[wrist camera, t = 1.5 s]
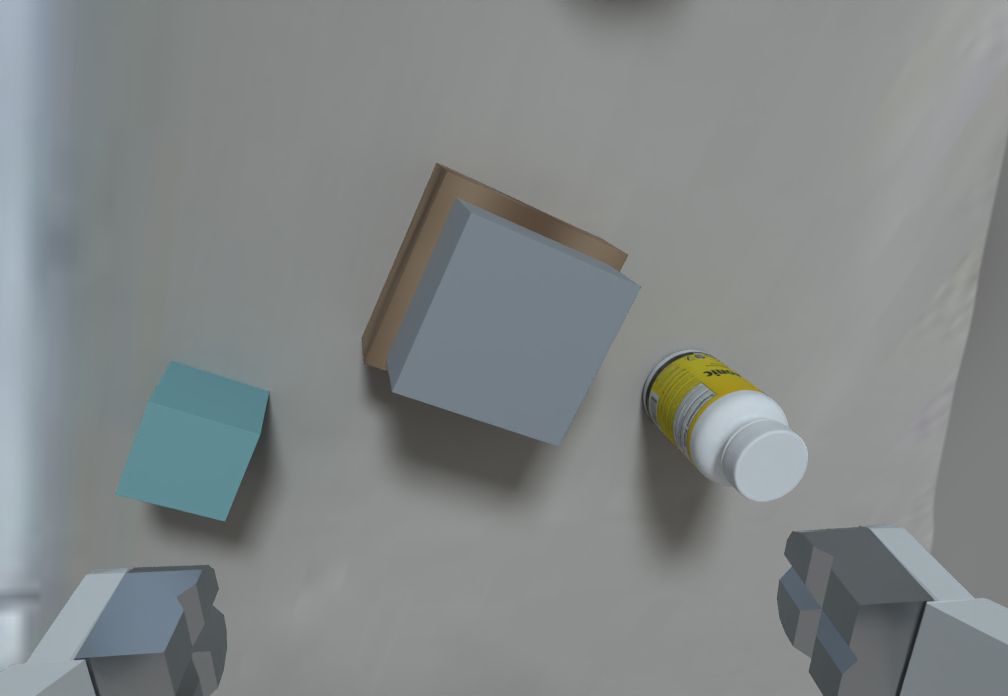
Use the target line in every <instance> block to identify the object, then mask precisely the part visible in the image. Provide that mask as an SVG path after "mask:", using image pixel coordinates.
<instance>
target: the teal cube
mask: <svg viewBox="0 0 1008 696" xmlns="http://www.w3.org/2000/svg"><path fill="white" fill-rule="evenodd" d="M268 395H269V391H266V390H263V389H260V388H256V387H253V386H250V385H247V384H244V383H241V382H237V381H234V380H231V379H228V378H225V377H222V376H219V375H215V374H212V373H209V372H206V371H203V370H200V369H196V368H193V367H190V366H187V365H184V364H181V363H178V362H174V361H171V363H170V364H169V366H168V368H167V370H166V371H165V373H164V375H163V377H162V378H161V380H160V382H159V384H158V385H157V387H156V389H155V391H154V392H153V394H152V396H151V398H150V399H149V401H148V404H147V407H146V409H145V412H144V415H143V418H142V421H141V423H140V426H139V429H138V432H137V435H136V437H135V440H134V443H133V446H132V449H131V451H130V454H129V457H128V460H127V462H126V465H125V468H124V471H123V474H122V476H121V479H120V482H119V485H118V488H117V490H116V493H115V494H116V495H120V496H124V497H128V498H132V499H136V500H140V501H144V502H148V503H152V504H156V505H160V506H164V507H168V508H172V509H177V510H181V511H185V512H189V513H193V514H197V515H201V516H205V517H209V518H213V519H217V520H221V521H225V520H226V518H227V515H228V513H229V510H230V508H231V506H232V503H233V501H234V498H235V496H236V493H237V491H238V488H239V486H240V483H241V481H242V479H243V476H244V474H245V471H246V469H247V466H248V464H249V461H250V459H251V456H252V454H253V452H254V449H255V447H256V444H257V442H258V439H259V437H260V434H261V429H262V424H263V420H264V415H265V410H266V405H267V400H268Z"/></svg>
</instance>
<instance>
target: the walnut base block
mask: <svg viewBox="0 0 1008 696" xmlns="http://www.w3.org/2000/svg"><path fill="white" fill-rule="evenodd" d="M455 198H459V199H461V200H463V201H465V202H468V203H470V204H472V205H474V206H477V207H479V208H481V209H484V210H486V211H488V212H490V213H493V214H495V215H497V216H499V217H502V218H504V219H506V220H508V221H511V222H513V223H515V224H518V225H520V226H522V227H524V228H527V229H529V230H531V231H533V232H536V233H538V234H540V235H542V236H545V237H547V238H549V239H551V240H554V241H556V242H558V243H561V244H563V245H565V246H567V247H570V248H572V249H574V250H576V251H579V252H581V253H583V254H585V255H588V256H590V257H592V258H594V259H597V260H599V261H601V262H604V263H606V264H608V265H610V266H611V267H613V268H614V269H616V270H617V271H619V272H620V270H621V268H622V266H623V264H624V262H625V260H626V258H627V256H628V254H626V253H624V252H623V251H621V250H619V249H618V248H616V247H615V246H613V245H611V244H610V243H608V242H606V241H605V240H603V239H601V238H599V237H597V236H594V235H592V234H590V233H588V232H586V231H584V230H581V229H579V228H577V227H575V226H573V225H571V224H568V223H566V222H564V221H562V220H560V219H558V218H556V217H553V216H551V215H549V214H547V213H545V212H543V211H540V210H538V209H536V208H534V207H532V206H530V205H527V204H525V203H523V202H521V201H519V200H517V199H514V198H512V197H510V196H508V195H506V194H504V193H502V192H499V191H497V190H495V189H493V188H491V187H489V186H486V185H484V184H482V183H480V182H478V181H476V180H473V179H471V178H469V177H467V176H465V175H463V174H460V173H458V172H456V171H454V170H452V169H450V168H448V167H445V166H443V165H441V164H439V163H436V165H435V168H434V170H433V172H432V175H431V177H430V179H429V182H428V184H427V186H426V189H425V191H424V193H423V196H422V198H421V200H420V203H419V205H418V207H417V210H416V212H415V214H414V217H413V219H412V221H411V224H410V226H409V229H408V231H407V233H406V236H405V238H404V240H403V243H402V245H401V247H400V250H399V252H398V254H397V257H396V259H395V261H394V264H393V266H392V268H391V271H390V273H389V275H388V278H387V280H386V282H385V285H384V287H383V289H382V292H381V294H380V296H379V299H378V301H377V304H376V306H375V308H374V311H373V313H372V315H371V318H370V320H369V322H368V325H367V327H366V329H365V332H364V334H363V336H362V346H363V356H364V364H367V365H370V366H373V367H376V368H379V369H382V370H385V371H387V372H388V366H387V361H386V358H387V356H388V353H389V351H390V349H391V346H392V344H393V342H394V339H395V337H396V335H397V332H398V330H399V328H400V326H401V323H402V321H403V319H404V316H405V314H406V312H407V309H408V307H409V305H410V302H411V300H412V298H413V295H414V293H415V291H416V288H417V286H418V284H419V282H420V279H421V277H422V275H423V272H424V270H425V268H426V265H427V263H428V261H429V258H430V256H431V254H432V251H433V249H434V247H435V244H436V242H437V240H438V238H439V235H440V233H441V231H442V228H443V226H444V224H445V221H446V219H447V217H448V214H449V212H450V210H451V207H452V205H453V203H454V200H455Z"/></svg>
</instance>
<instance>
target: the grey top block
mask: <svg viewBox="0 0 1008 696" xmlns="http://www.w3.org/2000/svg"><path fill="white" fill-rule="evenodd" d="M640 288H641V286H639V285H638V284H636V283H635V282H633V281H632V280H630V279H629V278H628V277H626V276H625V275H623V274H622V273H620V272H619V271H617V270H616V269H614V268H613V267H611V266H610V265H608V264H606V263H604V262H601V261H599V260H597V259H594V258H592V257H590V256H588V255H585V254H583V253H581V252H579V251H576V250H574V249H572V248H570V247H567V246H565V245H563V244H561V243H558V242H556V241H554V240H551V239H549V238H547V237H545V236H542V235H540V234H538V233H536V232H533V231H531V230H529V229H527V228H524V227H522V226H520V225H518V224H515V223H513V222H511V221H508V220H506V219H504V218H502V217H499V216H497V215H495V214H493V213H490V212H488V211H486V210H484V209H481V208H479V207H477V206H474V205H472V204H470V203H468V202H465V201H463V200H461V199H459V198H455V200H454V203H453V205H452V207H451V210H450V212H449V214H448V217H447V219H446V221H445V224H444V226H443V228H442V231H441V233H440V235H439V238H438V240H437V242H436V244H435V247H434V249H433V251H432V254H431V256H430V258H429V261H428V263H427V265H426V268H425V270H424V272H423V275H422V277H421V279H420V282H419V284H418V286H417V288H416V291H415V293H414V295H413V298H412V300H411V302H410V305H409V307H408V309H407V312H406V314H405V316H404V319H403V321H402V323H401V326H400V328H399V330H398V332H397V335H396V337H395V339H394V342H393V344H392V346H391V349H390V351H389V353H388V356H387V358H386V361H387V366H388V372H389V377H390V383H391V388H392V392H393V393H396V394H399V395H402V396H405V397H409V398H412V399H415V400H418V401H421V402H424V403H427V404H430V405H433V406H436V407H439V408H442V409H445V410H448V411H451V412H454V413H457V414H460V415H464V416H467V417H470V418H473V419H476V420H479V421H482V422H485V423H488V424H491V425H494V426H497V427H500V428H503V429H506V430H509V431H512V432H515V433H519V434H522V435H525V436H528V437H531V438H534V439H537V440H540V441H543V442H546V443H549V444H552V445H555V446H558V447H559V445H560V443H561V441H562V439H563V438H564V436H565V434H566V432H567V430H568V428H569V426H570V424H571V422H572V420H573V418H574V416H575V414H576V412H577V410H578V408H579V407H580V405H581V403H582V401H583V399H584V397H585V395H586V393H587V391H588V389H589V387H590V385H591V383H592V381H593V379H594V377H595V376H596V374H597V372H598V370H599V368H600V366H601V364H602V362H603V360H604V358H605V356H606V354H607V352H608V350H609V348H610V346H611V344H612V343H613V341H614V339H615V337H616V335H617V333H618V331H619V329H620V327H621V325H622V323H623V321H624V319H625V317H626V315H627V313H628V312H629V310H630V308H631V306H632V304H633V302H634V300H635V298H636V296H637V294H638V292H639V290H640Z"/></svg>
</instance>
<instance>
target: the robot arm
mask: <svg viewBox="0 0 1008 696" xmlns="http://www.w3.org/2000/svg"><path fill="white" fill-rule="evenodd" d="M784 555H785V556H786V558H787V559H788V561H789V562H790V564H791V565H792V567H791V568H790V569H789V570H788V571H787V572H786V573H785V574H784V575H783V576H782V577H781V578H780V579H779V587H778V594H777V603H778V610H779V618H780V620H781V623H782V626H783V628H784V631H785V633H786V635H787V637H788V638H789V640H790V642H791V644H792V645H793V647H795V648H796V649H798V650H800V651H801V652H803V653H804V654H806V655H807V656H809V657H810V658H811V663H810V668H809V673H810V675H811V676H812V678H813V680H814V681H815V683H816V685H817V686H818V688H819V689H820V691H821V693H822V694H823V696H1008V609H1007V608H1005V607H1003V606H1001V605H999V604H997V603H995V602H992V601H990V600H988V599H986V598H980V599H974V598H973V597H972V596H971V595H970V594H969V593H968V592H967V591H966V590H965V589H964V588H963V587H962V586H961V585H960V584H959V583H958V582H957V581H956V580H955V579H954V578H953V577H952V576H951V575H950V574H949V573H948V572H947V571H946V570H945V569H944V568H943V567H942V566H941V565H940V564H939V563H938V562H937V561H936V560H935V559H934V558H933V557H932V556H931V555H930V554H929V553H928V552H927V551H926V550H925V549H924V548H923V547H922V546H921V545H920V544H919V543H918V542H917V541H916V540H915V539H914V538H913V537H912V536H911V535H910V534H909V533H908V532H907V531H906V530H905V529H904V528H903V527H901V526H898V525H896V524H894V523H888V524H876V525H864V526H859V527H851V528H835V529H819V530H804V531H792V533H791V534H790V536H789V538H788V539H787V542H786V547H785V552H784ZM218 590H219V588H218V583H217V579H216V575H215V571H214V569H213V568H212V567H210V566H209V565H193V566H166V567H138V568H133V569H130V568H123V569H102V570H94V571H93V572H91V573H89V574H87V575H86V576H85V577H84V578H83V580H82V581H81V583H80V584H79V586H78V587H77V589H76V590H75V591H74V593H73V594H72V596H71V597H70V599H69V600H68V602H67V603H66V605H65V606H64V608H63V609H62V610H61V612H60V613H59V615H58V616H57V618H56V619H55V621H54V622H53V624H52V625H51V627H50V628H49V629H48V631H47V632H46V634H45V635H44V637H43V638H42V640H41V641H40V643H39V644H38V646H37V647H36V648H35V650H34V651H33V653H32V654H31V656H30V657H29V659H28V660H27V662H26V663H25V664H13V665H11V666H9V667H8V668H6V669H5V670H3V671H2V672H0V696H210V695H211V694H212V693H213V692H214V691H215V690H216V689H217V688H218V686H219V683H220V680H221V677H222V674H223V671H224V665H225V658H226V651H227V629H226V624H225V618H224V615H223V614H222V613H221V612H220V611H219V610H218V609H216V608H215V607H214V606H213V602H214V600H215V597H216V595H217V592H218Z"/></svg>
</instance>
